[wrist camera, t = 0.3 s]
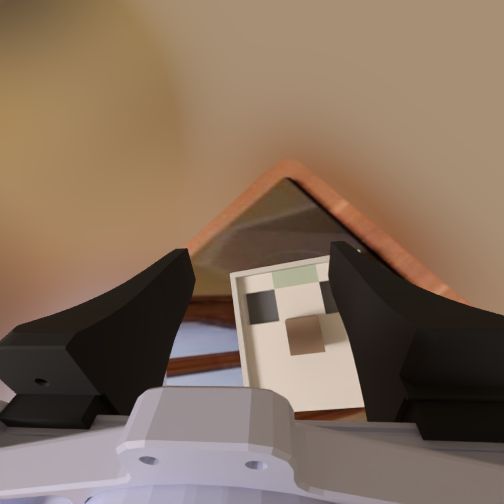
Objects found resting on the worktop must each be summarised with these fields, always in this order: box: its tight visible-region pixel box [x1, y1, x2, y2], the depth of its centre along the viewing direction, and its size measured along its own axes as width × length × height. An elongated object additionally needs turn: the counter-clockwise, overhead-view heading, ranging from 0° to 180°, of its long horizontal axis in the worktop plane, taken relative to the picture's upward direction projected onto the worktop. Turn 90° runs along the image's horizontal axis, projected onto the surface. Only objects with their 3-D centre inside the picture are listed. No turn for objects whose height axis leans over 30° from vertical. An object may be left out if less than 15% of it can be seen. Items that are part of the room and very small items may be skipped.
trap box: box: [230, 250, 365, 412], centre depth 37 cm, size 21×20×4 cm
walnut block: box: [285, 314, 326, 356], centre depth 34 cm, size 4×4×4 cm
